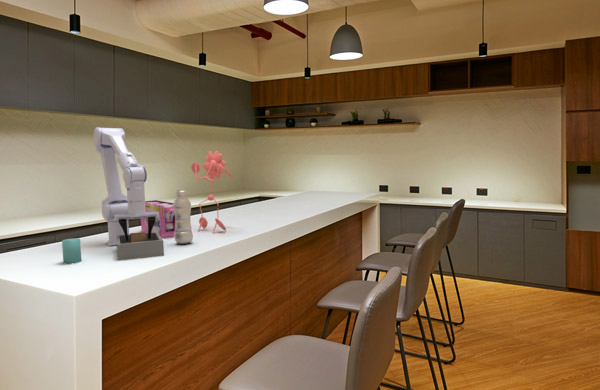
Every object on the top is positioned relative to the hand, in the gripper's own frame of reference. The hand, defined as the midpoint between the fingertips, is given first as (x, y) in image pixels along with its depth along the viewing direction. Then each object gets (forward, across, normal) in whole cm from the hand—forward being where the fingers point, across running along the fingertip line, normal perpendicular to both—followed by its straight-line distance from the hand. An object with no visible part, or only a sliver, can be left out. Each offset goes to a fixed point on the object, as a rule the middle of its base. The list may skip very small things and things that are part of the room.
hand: (138, 239), depth 145 cm
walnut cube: (+3, 0, 0) cm, 3 cm away
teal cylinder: (+4, -20, -8) cm, 22 cm away
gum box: (+4, +10, +30) cm, 31 cm away
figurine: (+4, +34, +26) cm, 43 cm away
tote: (+4, 0, -4) cm, 5 cm away
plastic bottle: (+4, +16, +3) cm, 17 cm away
